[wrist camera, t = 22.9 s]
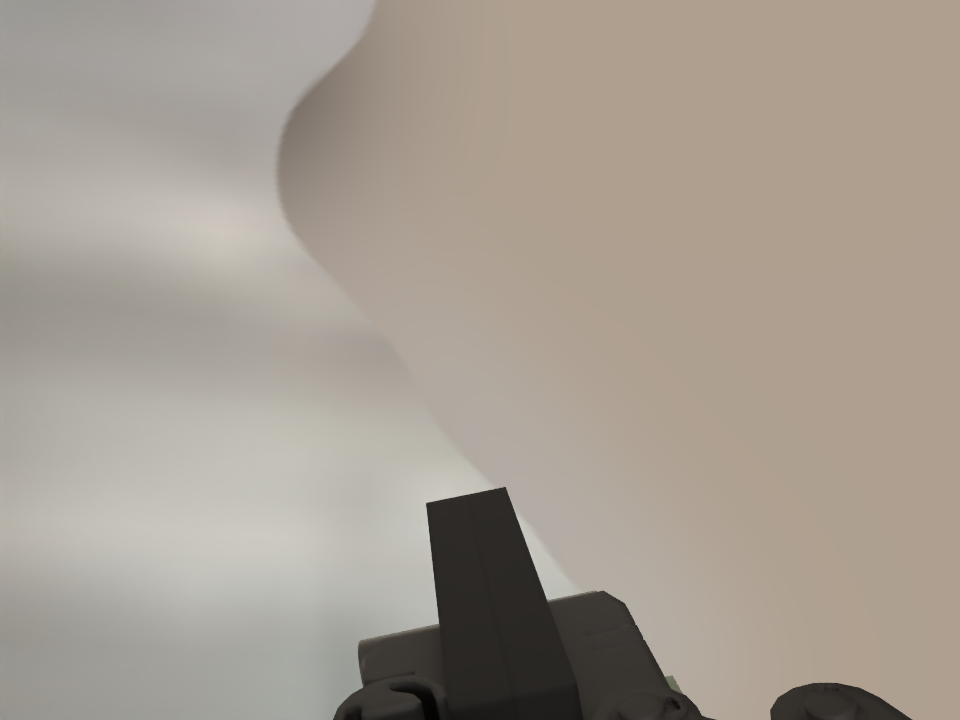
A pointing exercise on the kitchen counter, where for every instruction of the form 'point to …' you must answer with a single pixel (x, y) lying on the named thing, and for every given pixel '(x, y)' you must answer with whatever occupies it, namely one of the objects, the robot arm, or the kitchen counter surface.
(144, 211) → the kitchen counter surface
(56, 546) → the kitchen counter surface
